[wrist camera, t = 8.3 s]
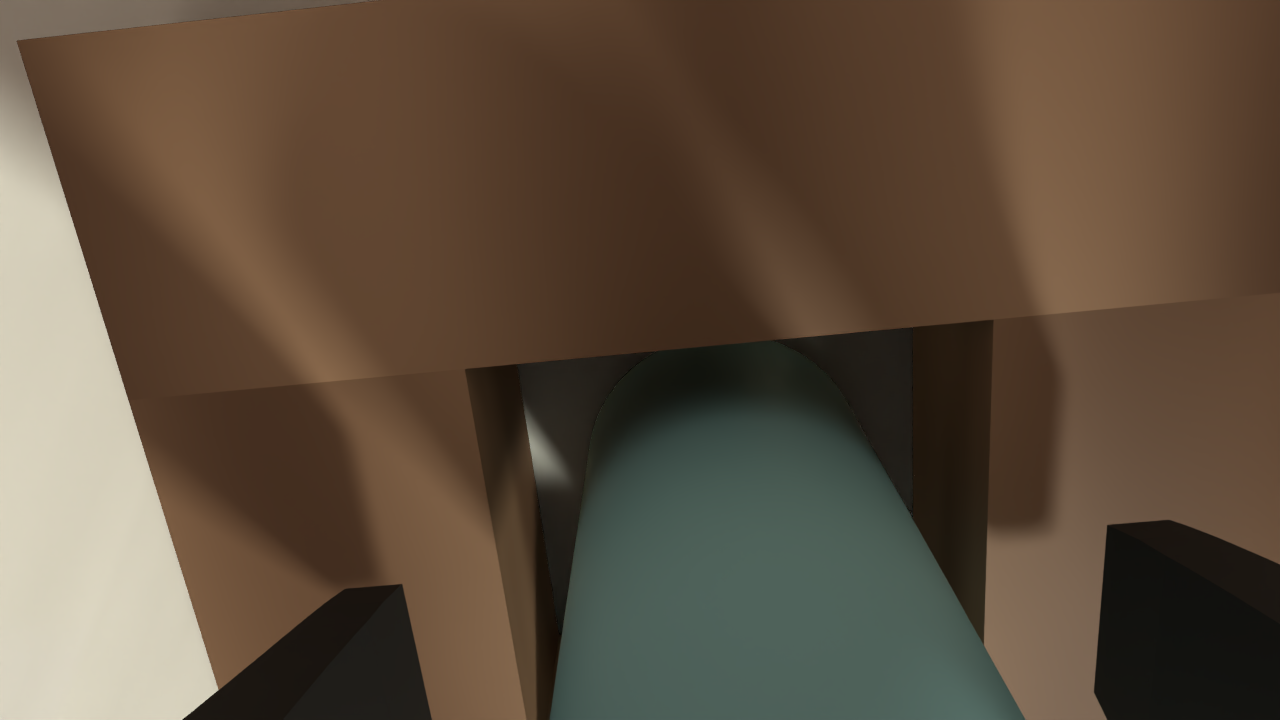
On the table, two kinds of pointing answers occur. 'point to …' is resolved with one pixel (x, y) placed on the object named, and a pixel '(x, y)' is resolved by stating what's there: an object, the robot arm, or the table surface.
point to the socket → (676, 282)
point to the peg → (755, 560)
